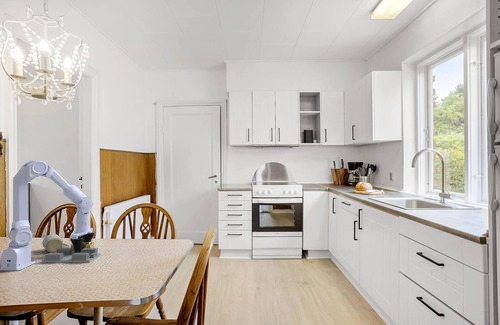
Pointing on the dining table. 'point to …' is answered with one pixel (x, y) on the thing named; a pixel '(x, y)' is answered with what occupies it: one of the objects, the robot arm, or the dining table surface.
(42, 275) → the dining table surface
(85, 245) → the link
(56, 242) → the ceramic mug
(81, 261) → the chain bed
